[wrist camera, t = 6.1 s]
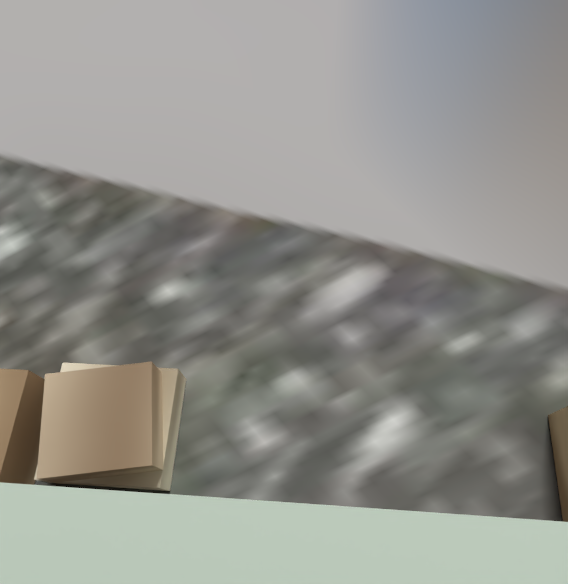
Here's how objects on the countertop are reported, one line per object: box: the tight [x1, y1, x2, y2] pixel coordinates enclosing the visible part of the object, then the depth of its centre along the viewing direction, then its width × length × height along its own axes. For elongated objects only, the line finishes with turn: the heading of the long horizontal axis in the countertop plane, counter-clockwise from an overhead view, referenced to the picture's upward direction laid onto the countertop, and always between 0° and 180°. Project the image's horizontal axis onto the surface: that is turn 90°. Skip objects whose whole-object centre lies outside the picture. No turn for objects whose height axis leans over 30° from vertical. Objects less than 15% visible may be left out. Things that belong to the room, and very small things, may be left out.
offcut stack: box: [34, 362, 186, 491], centre depth 15 cm, size 4×3×2 cm
